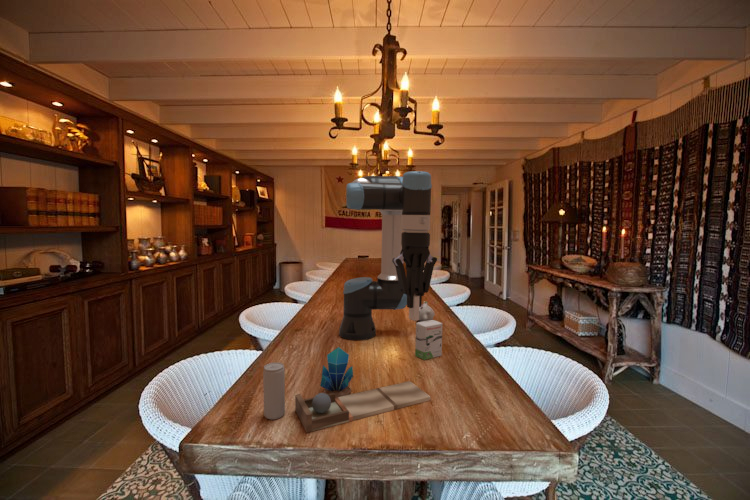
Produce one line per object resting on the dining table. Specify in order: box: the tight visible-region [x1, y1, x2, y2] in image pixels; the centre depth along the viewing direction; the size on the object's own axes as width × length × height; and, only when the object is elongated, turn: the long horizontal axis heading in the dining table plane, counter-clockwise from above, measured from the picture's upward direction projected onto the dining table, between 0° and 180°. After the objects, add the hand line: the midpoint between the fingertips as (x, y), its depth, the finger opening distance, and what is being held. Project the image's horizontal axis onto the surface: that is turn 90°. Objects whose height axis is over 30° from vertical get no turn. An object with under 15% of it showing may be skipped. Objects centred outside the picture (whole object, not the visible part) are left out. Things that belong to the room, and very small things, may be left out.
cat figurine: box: [418, 300, 435, 322], centre depth 166 cm, size 10×8×15 cm
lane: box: [294, 380, 432, 434], centre depth 88 cm, size 10×33×4 cm, turn 117°
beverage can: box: [262, 362, 286, 421], centre depth 83 cm, size 5×5×12 cm
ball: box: [312, 392, 331, 413], centre depth 84 cm, size 4×4×4 cm
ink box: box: [414, 319, 443, 361], centre depth 122 cm, size 9×5×12 cm, turn 123°
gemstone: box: [319, 346, 354, 398], centre depth 94 cm, size 7×9×12 cm
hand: (413, 319), depth 94 cm, fingers closed
